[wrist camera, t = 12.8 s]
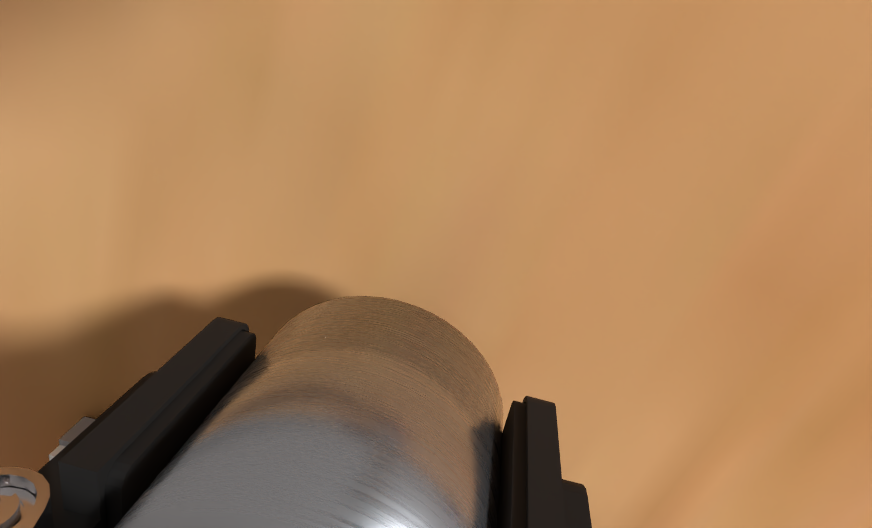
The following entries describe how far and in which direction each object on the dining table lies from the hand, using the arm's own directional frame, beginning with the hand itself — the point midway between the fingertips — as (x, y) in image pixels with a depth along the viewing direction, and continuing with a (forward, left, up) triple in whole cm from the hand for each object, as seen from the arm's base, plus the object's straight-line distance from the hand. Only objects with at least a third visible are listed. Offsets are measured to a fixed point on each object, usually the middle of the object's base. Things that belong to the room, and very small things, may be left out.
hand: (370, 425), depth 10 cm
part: (0, 0, -1) cm, 1 cm away
